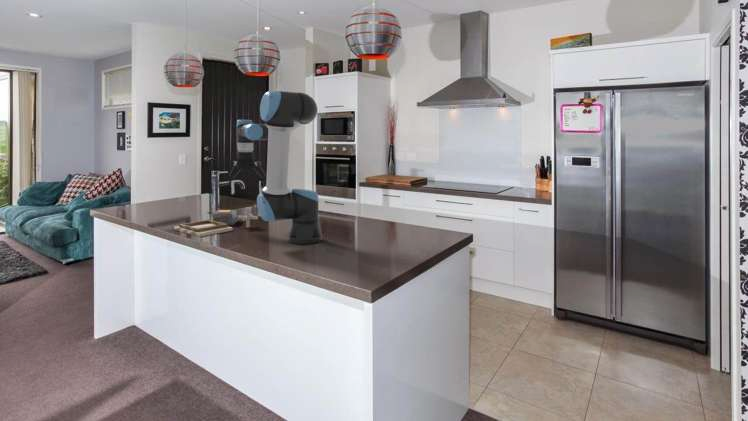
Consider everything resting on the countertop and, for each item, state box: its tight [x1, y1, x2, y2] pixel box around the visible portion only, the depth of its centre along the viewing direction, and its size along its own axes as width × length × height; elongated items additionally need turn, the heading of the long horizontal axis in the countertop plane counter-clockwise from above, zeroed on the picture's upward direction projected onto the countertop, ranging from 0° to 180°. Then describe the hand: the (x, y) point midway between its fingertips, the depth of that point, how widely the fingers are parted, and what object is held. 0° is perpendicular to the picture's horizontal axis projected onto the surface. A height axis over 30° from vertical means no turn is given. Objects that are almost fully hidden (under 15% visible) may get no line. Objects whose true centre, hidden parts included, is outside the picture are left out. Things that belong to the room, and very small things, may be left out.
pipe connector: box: [237, 207, 259, 228], centre depth 226 cm, size 10×10×10 cm
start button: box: [217, 209, 233, 213], centre depth 236 cm, size 6×6×3 cm
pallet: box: [173, 219, 234, 238], centre depth 218 cm, size 22×18×3 cm
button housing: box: [212, 209, 239, 226], centre depth 236 cm, size 11×11×6 cm
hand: (246, 193), depth 224 cm, fingers open, 13 cm apart
